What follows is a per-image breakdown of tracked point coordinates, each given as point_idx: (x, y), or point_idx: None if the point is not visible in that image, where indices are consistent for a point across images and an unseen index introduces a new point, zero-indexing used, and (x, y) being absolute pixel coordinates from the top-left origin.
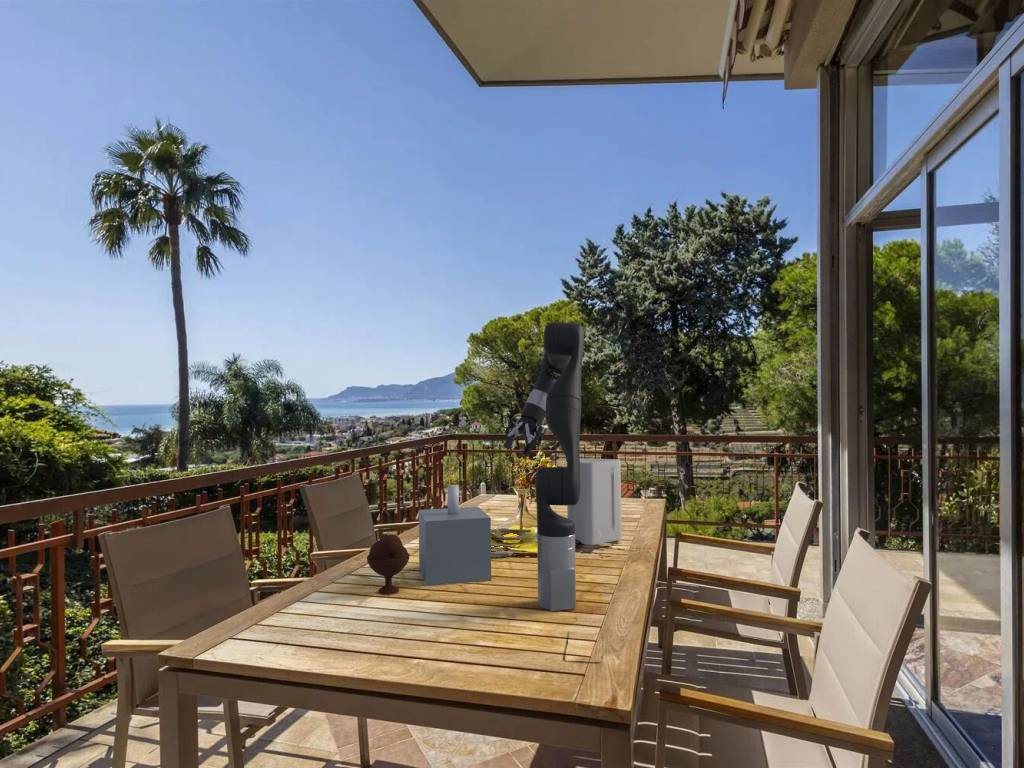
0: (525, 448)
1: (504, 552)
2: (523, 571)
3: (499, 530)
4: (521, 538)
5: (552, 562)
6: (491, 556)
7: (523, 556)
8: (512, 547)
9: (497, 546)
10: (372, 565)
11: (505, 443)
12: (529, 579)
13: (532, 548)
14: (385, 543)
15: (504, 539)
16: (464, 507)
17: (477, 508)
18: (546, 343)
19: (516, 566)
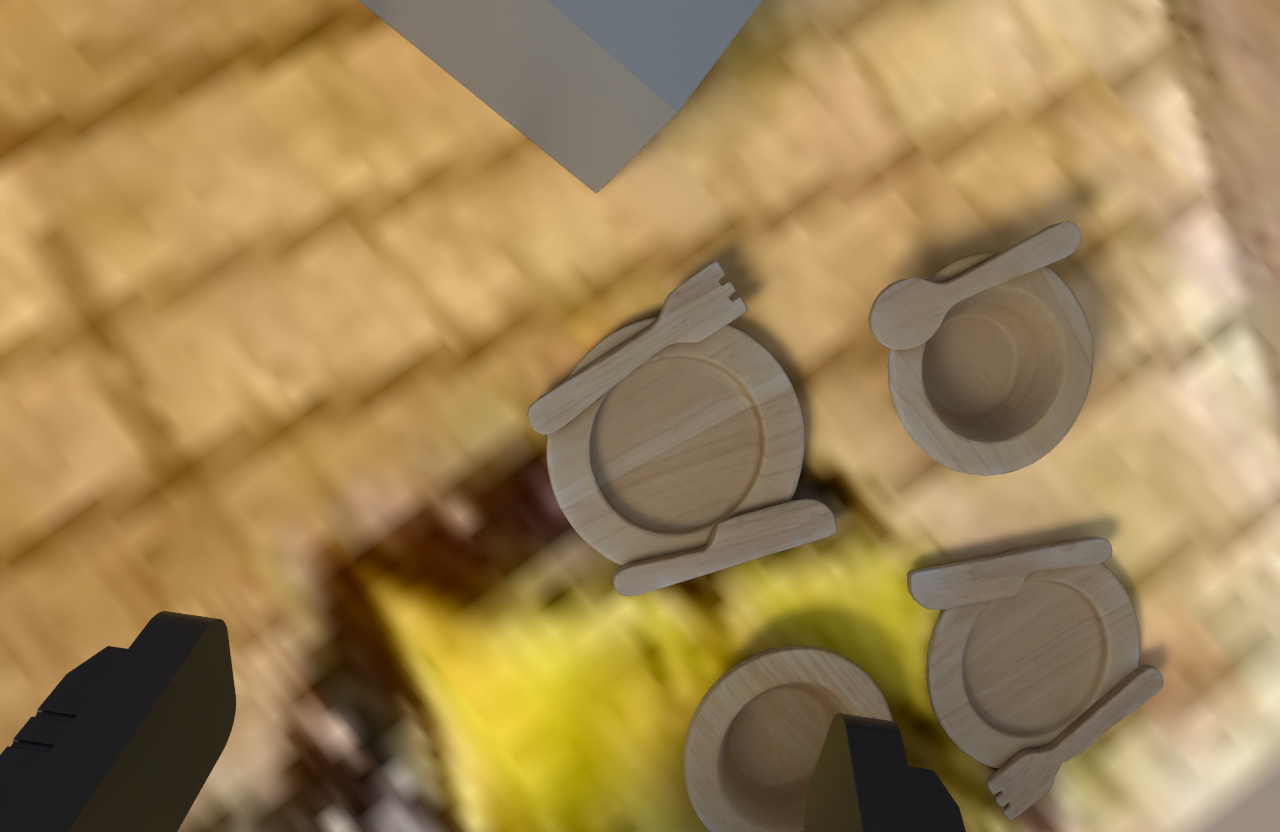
0: (97, 724)
1: (563, 409)
2: (246, 213)
3: None
4: (685, 739)
5: None
6: (610, 335)
7: (476, 496)
8: (624, 566)
9: (716, 523)
10: None
11: (911, 795)
12: (94, 87)
13: (555, 688)
14: None
15: (763, 652)
16: (757, 4)
17: (614, 26)
18: None
19: (358, 280)
